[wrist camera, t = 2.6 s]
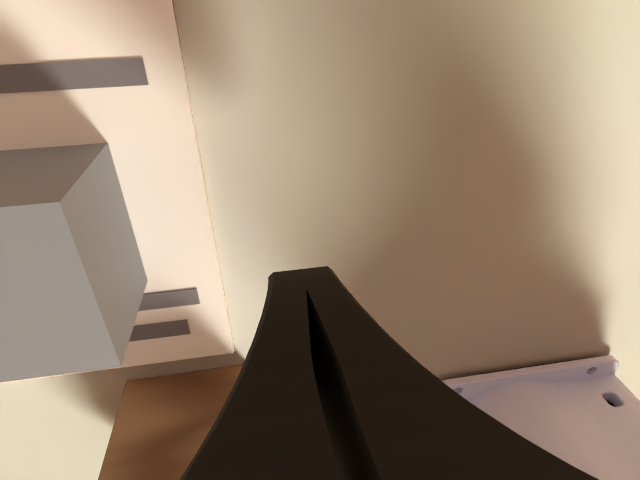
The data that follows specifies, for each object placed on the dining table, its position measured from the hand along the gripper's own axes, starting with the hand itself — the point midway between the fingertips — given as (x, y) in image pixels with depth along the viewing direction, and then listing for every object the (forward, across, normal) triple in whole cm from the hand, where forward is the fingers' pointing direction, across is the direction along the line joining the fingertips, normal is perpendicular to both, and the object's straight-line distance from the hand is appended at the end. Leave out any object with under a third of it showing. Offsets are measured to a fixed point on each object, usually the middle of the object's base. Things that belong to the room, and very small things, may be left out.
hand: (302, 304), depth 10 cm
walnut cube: (+6, +4, +10) cm, 12 cm away
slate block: (+5, +7, 0) cm, 9 cm away
